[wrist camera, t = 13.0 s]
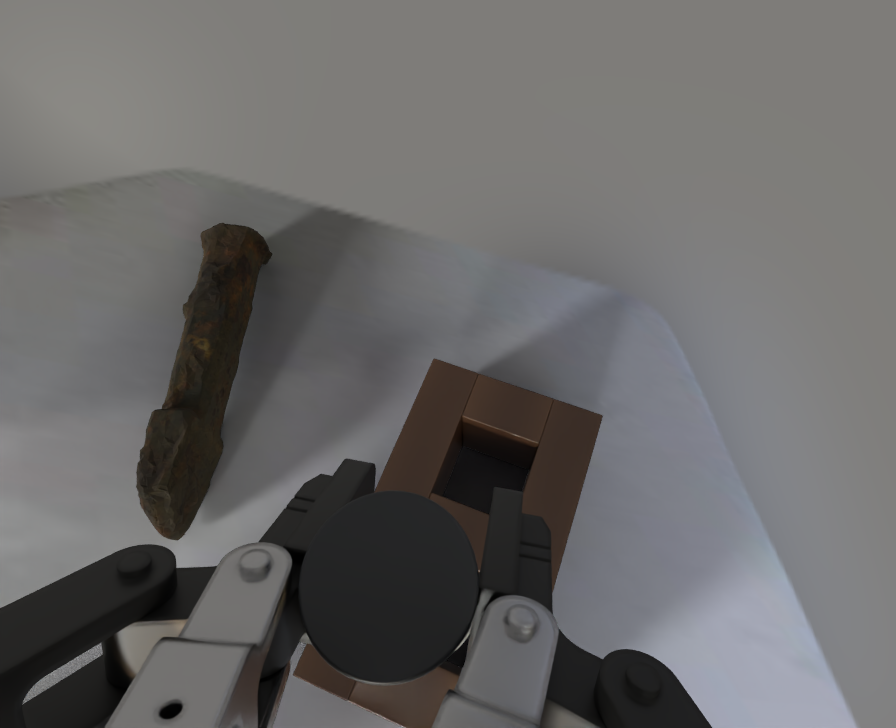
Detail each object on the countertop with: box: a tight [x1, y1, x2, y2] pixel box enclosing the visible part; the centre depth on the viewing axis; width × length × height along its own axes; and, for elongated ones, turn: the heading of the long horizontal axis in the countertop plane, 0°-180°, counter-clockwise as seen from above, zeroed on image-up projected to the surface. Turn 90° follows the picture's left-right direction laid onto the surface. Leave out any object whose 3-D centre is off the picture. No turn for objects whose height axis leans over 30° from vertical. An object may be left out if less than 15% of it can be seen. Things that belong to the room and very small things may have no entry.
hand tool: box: [136, 223, 272, 540], centre depth 32 cm, size 19×4×5 cm, turn 176°
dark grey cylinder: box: [298, 490, 479, 686], centre depth 13 cm, size 3×3×9 cm
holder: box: [293, 359, 603, 728], centre depth 27 cm, size 9×16×5 cm, turn 159°
